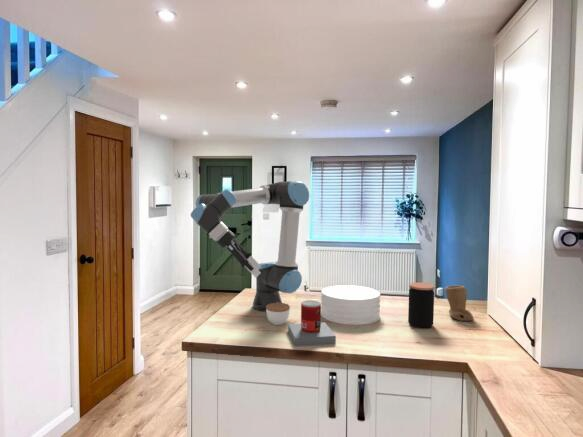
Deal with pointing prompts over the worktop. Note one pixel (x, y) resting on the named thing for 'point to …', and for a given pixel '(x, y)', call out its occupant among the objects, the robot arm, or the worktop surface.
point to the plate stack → (350, 304)
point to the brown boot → (458, 302)
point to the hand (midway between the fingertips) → (258, 271)
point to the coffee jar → (421, 305)
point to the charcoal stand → (311, 335)
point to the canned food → (310, 316)
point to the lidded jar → (277, 313)
